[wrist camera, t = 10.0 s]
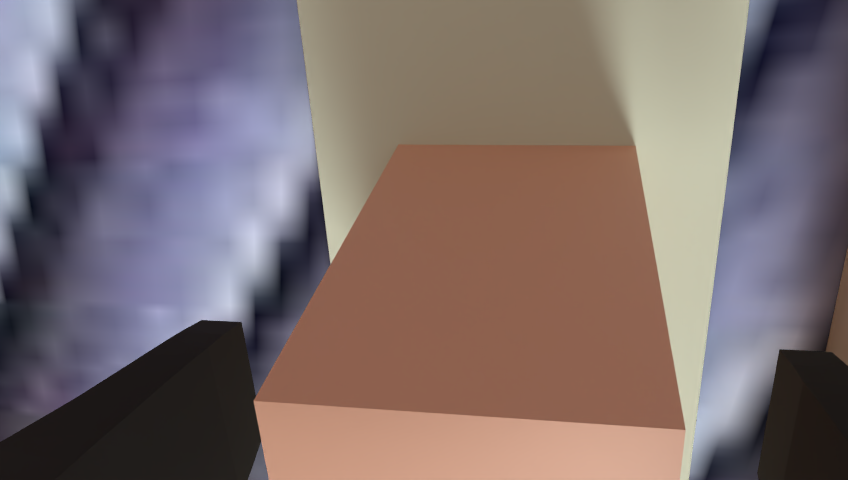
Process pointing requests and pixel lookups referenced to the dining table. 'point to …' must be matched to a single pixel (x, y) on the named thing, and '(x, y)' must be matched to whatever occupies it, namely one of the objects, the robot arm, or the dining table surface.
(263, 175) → the dining table surface
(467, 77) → the mat
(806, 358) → the robot arm
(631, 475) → the block
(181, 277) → the dining table surface
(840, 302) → the wooden tray
